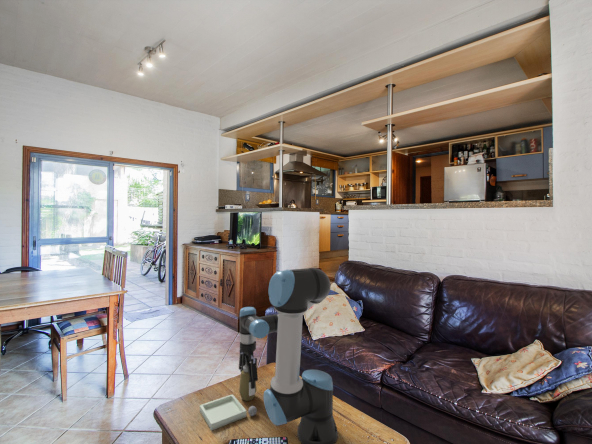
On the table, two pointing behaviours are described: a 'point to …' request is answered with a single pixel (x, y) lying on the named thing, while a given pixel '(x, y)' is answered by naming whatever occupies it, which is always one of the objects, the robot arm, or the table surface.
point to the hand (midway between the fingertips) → (247, 390)
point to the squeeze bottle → (245, 384)
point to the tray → (222, 411)
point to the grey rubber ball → (252, 411)
